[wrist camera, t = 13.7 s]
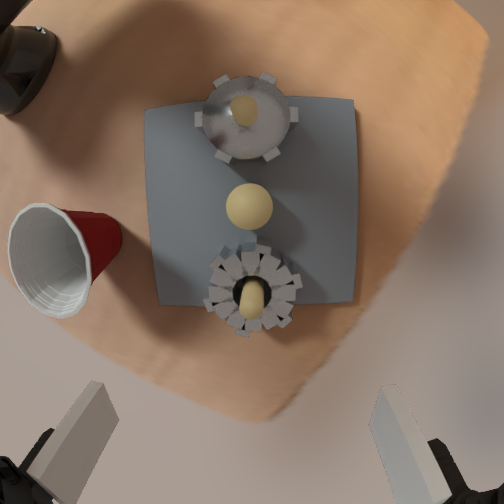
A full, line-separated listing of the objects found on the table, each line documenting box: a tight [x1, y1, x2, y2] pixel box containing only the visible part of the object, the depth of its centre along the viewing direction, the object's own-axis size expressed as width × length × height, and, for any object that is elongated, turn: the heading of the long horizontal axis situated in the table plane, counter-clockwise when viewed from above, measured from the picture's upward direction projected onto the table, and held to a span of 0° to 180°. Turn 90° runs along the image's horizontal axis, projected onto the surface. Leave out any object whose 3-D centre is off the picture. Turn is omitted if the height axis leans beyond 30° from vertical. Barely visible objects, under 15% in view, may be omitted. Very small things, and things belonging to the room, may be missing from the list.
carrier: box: [144, 95, 358, 320], centre depth 25 cm, size 22×22×8 cm
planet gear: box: [203, 236, 303, 337], centre depth 28 cm, size 9×9×4 cm
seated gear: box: [195, 72, 298, 166], centre depth 24 cm, size 9×8×4 cm
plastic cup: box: [7, 203, 122, 319], centre depth 25 cm, size 11×11×12 cm
